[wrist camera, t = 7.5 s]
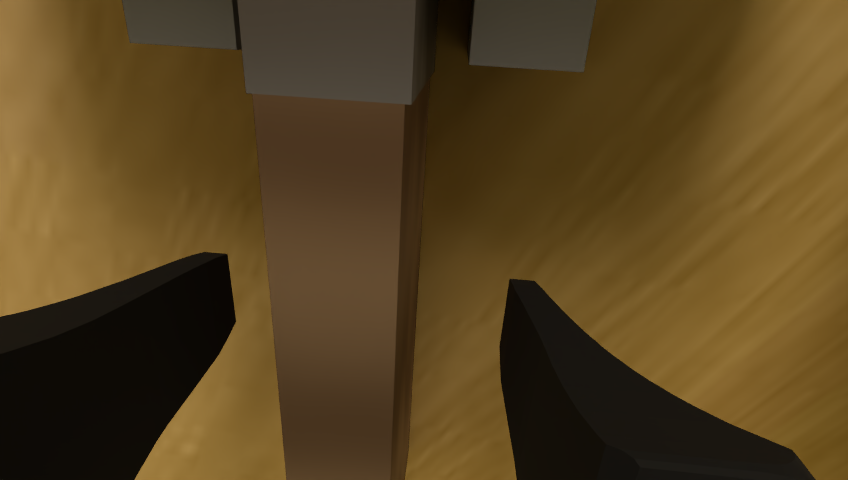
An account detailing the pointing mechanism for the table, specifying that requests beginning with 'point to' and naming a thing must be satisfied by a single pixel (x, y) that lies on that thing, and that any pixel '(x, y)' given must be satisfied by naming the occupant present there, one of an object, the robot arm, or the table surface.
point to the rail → (342, 219)
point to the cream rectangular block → (488, 41)
